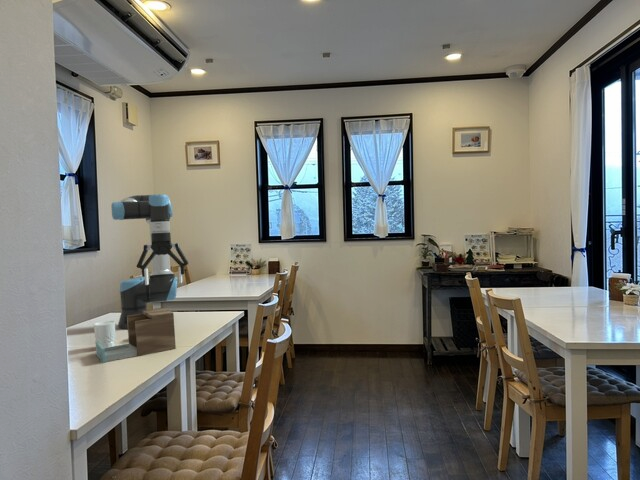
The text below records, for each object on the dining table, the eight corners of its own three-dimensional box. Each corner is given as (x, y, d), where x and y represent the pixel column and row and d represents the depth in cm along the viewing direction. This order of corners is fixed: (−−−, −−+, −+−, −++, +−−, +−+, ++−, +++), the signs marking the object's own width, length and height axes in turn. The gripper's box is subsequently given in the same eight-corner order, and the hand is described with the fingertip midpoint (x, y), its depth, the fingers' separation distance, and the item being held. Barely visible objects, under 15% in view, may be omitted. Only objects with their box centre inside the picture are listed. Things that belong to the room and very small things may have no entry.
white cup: (108, 350, 180) (106, 325, 180) (90, 350, 182) (89, 325, 181) (120, 344, 188) (119, 320, 187) (104, 344, 189) (102, 320, 189)
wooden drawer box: (129, 348, 182) (126, 312, 181) (164, 341, 190) (162, 307, 189) (138, 356, 169) (135, 318, 169) (175, 348, 177) (173, 312, 177)
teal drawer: (96, 354, 175) (95, 341, 174) (133, 347, 182) (132, 335, 182) (103, 363, 163) (102, 349, 163) (142, 355, 171) (141, 342, 170)
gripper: (126, 234, 182) (129, 286, 183) (190, 231, 184) (193, 282, 185) (131, 233, 189) (135, 284, 190) (193, 230, 192) (196, 280, 193)
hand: (164, 283), depth 188 cm, fingers open, 13 cm apart
